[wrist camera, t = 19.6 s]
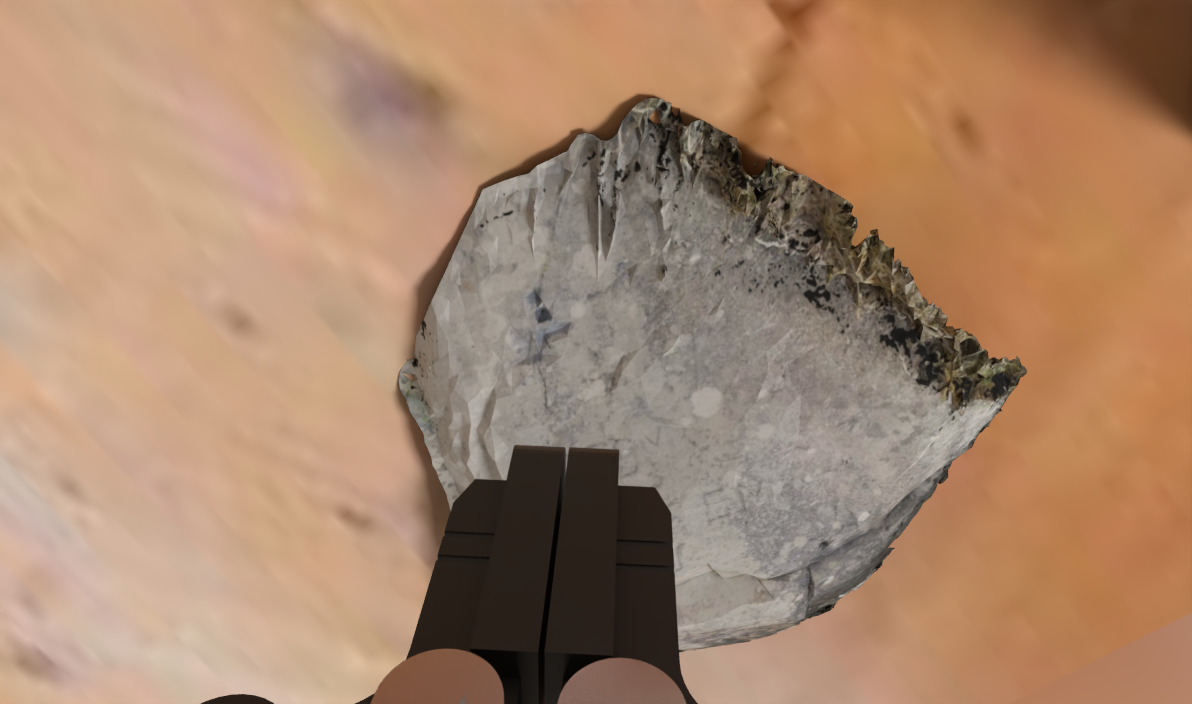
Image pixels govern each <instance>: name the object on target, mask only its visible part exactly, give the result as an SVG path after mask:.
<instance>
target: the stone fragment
mask: <svg viewBox="0 0 1192 704" xmlns="http://www.w3.org/2000/svg"><path fill="white" fill-rule="evenodd" d="M664 102H665V100H663V99H660V98H646V99H644V100H643V101H641V102H639V103H638V104H637V105H636V106H635V107H634V108H633V109H632V110H631V111H630V112H629V113H628V114H627V116H626V117H625V118H624V119H623V121H622V123H621V126H620V129H619V131H618V133H617V134H616V135H615V136H614V137H613V138H612V139H610V140H608V141H604V140H599V139H598V138H597V137H596V136H595V135H592V134H589V133H583V134H579V135H578V136H577V137H576V139H575V140H574V141H573V143H572V144H571V146H570V147H569V149H568V151H566V152H564V153H562V154H560V155H558V156H556V157H554V158H552V159H550V160H548V161H546V162H544V163H542V164H539V165H537V166H536V167H535V168H534V169H533V170H532V171H531V172H530V173H529V174H525V175H520V176H516V177H514V178H511V179H508V180H505V181H502V182H499V183H497V184H494V185H492V186H490V187H487V188H485V189H483V190H482V192H481V195H480V197H479V199H478V201H477V203H476V206H475V208H474V210H473V212H472V214H471V216H470V218H469V221H468V223H467V225H466V227H465V229H464V231H463V234H462V236H461V238H460V240H459V242H458V245H457V247H456V249H455V251H454V253H453V255H452V258H451V260H450V262H449V264H448V267H447V269H446V271H445V273H444V275H443V278H442V280H441V282H440V284H439V286H438V288H437V290H436V293H435V295H434V297H433V299H432V301H431V303H430V305H429V307H428V310H427V312H426V315H425V317H424V319H423V322H422V324H421V326H420V329H419V331H418V333H417V335H416V340H415V351H414V356H415V358H416V359H410V360H407V362H406V364H405V365H404V366H403V367H402V368H401V371H400V373H399V387H400V390H401V392H402V394H403V395H404V397H405V399H406V401H407V404H408V406H409V411H410V413H411V414H412V416H413V417H414V419H415V420H416V422H417V424H418V425H419V427H420V429H421V431H422V432H423V434H424V443H425V444H426V446H427V448H428V451H429V453H430V456H431V459H432V465H433V467H434V469H435V470H436V472H437V475H438V478H439V480H440V482H441V484H442V486H443V488H444V490H445V492H446V494H447V500H448V503H449V506H450V512H451V509H452V505H453V502H454V501H455V500H456V499H457V498H458V497H459V496H460V495H461V494H462V493H463V492H464V491H465V489H466V488H467V487H468V486H469V485H470V484H471V483H472V482H473V481H474V480H475V479H490V480H506V479H507V475H508V470H509V466H510V461H511V457H512V452H513V448H514V446H515V445H530V446H551V447H565V449H566V468H567V460H568V452H569V447H577V448H598V449H619V478H618V485H620V486H641V487H655V488H656V489H657V491H658V493H659V494H660V496H661V497H662V499H663V501H664V502H665V504H666V505H667V507H668V508H669V510H670V512H671V516H672V534H673V552H674V572H675V588H676V606H677V625H678V643H679V652H683V651H686V650H695V649H703V648H709V647H715V646H721V645H730V644H736V643H742V642H749V641H751V640H755V639H759V638H763V637H767V636H770V635H773V634H777V633H778V632H781V631H783V630H786V629H788V628H792V627H794V626H795V625H799V623H800V622H802V621H804V620H805V619H806V618H811V617H814V616H818V615H821V614H823V613H825V612H827V611H830V610H831V609H832V608H834V606H835V604H836V602H837V601H838V600H839V599H840V598H842V597H843V596H845V595H847V594H848V593H849V592H850V591H852V590H855V589H858V588H859V587H860V586H861V585H862V584H863V583H864V582H865V581H866V580H867V579H868V578H869V577H870V576H871V575H872V574H873V573H874V572H875V571H876V570H878V568H880V567H881V566H882V564H883V560H884V559H885V558H886V557H887V556H888V555H889V554H890V553H891V551H892V550H893V549H894V548H888V547H889V546H890V544H891V543H892V542H893V541H894V540H895V539H897V538H898V537H899V536H900V535H901V533H902V532H903V531H904V530H905V528H906V527H907V526H908V524H909V523H910V521H911V520H912V518H913V517H914V516H915V515H916V514H917V512H918V511H919V509H920V508H921V506H922V504H923V503H924V502H925V501H926V500H928V499H929V498H930V497H931V496H932V494H933V493H934V491H935V489H936V486H937V484H938V482H939V484H941V483H943V482H944V481H945V480H946V479H947V478H948V469H949V467H950V466H951V463H952V461H953V460H955V459H956V458H957V457H959V456H960V455H961V454H963V453H964V452H966V451H967V450H969V449H970V448H972V446H973V444H974V442H975V439H976V437H977V436H978V434H979V433H981V432H982V431H983V430H984V429H985V428H986V427H988V426H989V423H990V422H991V420H992V419H993V418H994V416H995V415H996V414H998V413H999V412H1000V411H1002V410H1001V407H1002V406H1003V405H1004V403H1005V401H1006V399H1007V398H1008V396H1009V395H1010V394H1011V392H1012V391H1013V390H1014V389H1015V388H1016V387H1017V386H1016V385H1018V383H1019V380H1020V378H1021V377H1023V376H1024V375H1025V374H1026V372H1027V370H1026V368H1025V367H1024V366H1021V362H1020V359H1019V358H1018V357H1017V356H1016V359H1013V360H1010V361H1009V360H1008V359H1007V358H1006V357H1003V358H1001V359H1000V360H998V359H997V358H995V357H994V358H991V359H989V357H988V351H986V350H985V349H984V350H982V348H981V346H980V344H979V342H978V340H977V339H976V338H975V337H974V336H973V335H972V334H970V333H968V332H966V331H964V332H963V330H961V329H962V328H960V329H954V328H953V326H946V323H947V318H948V317H947V316H946V315H945V314H944V313H942V312H941V311H942V309H941V308H937V307H936V306H935V305H934V303H933V302H932V303H931V304H930V305H929V304H928V302H927V300H926V298H925V297H923V298H922V297H921V295H920V292H919V290H918V288H917V286H916V284H915V282H914V281H913V279H914V278H913V277H912V275H911V274H910V271H909V268H908V267H903V266H902V263H901V262H900V260H899V259H897V260H896V261H895V262H894V263H893V260H894V248H889V247H887V246H885V244H884V242H883V241H881V240H880V239H879V236H878V230H877V229H875V230H871V231H870V233H871V235H869V236H868V237H867V238H865V239H864V240H863V241H862V242H861V243H860V244H859V245H857V246H856V247H855V246H853V245H851V244H852V237H853V235H854V233H855V231H856V229H857V218H856V217H854V216H852V215H851V212H852V208H853V206H852V204H851V203H850V202H848V201H847V200H845V199H844V198H842V197H841V196H839V195H837V194H836V193H834V192H832V191H830V190H828V189H826V188H825V187H823V186H822V185H820V184H818V183H817V182H815V181H813V180H812V179H810V178H809V177H807V176H805V175H801V174H796V173H795V172H793V171H787V170H785V168H784V165H783V166H781V163H780V167H778V164H779V163H778V164H776V165H774V166H772V162H773V161H774V160H773V159H772V158H771V157H770V158H769V160H768V161H767V163H766V165H765V167H764V168H763V170H762V172H761V174H760V175H758V174H755V175H752V176H751V177H750V176H749V175H747V174H746V172H745V170H744V169H743V166H742V163H741V159H742V152H741V151H740V150H739V149H738V147H737V138H734V137H732V136H730V135H728V134H725V133H723V132H721V131H720V130H718V129H716V128H714V127H713V126H711V125H710V124H708V123H707V122H705V121H702V120H697V121H695V122H692V123H691V124H690V125H688V126H683V121H682V119H681V116H680V114H679V113H680V110H679V113H678V115H677V117H676V116H675V115H674V114H673V113H672V103H669V102H665V103H664ZM655 109H657V112H658V115H659V118H660V121H661V123H660V124H654V123H653V122H652V121H651V120H650V119H649V117H650V115H651V114H652V113H653V111H654V110H655ZM756 165H757V162H756V163H755V164H754V166H755V167H756ZM777 167H778V168H777ZM940 312H941V313H940ZM402 373H406V374H414V375H415V378H416V380H415V381H410V380H409V379H408V378H407V377H406V376H404V375H403V374H402ZM887 548H888V549H887Z"/></svg>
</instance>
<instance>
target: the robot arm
mask: <svg viewBox="0 0 1192 704" xmlns="http://www.w3.org/2000/svg"><path fill="white" fill-rule="evenodd" d="M618 478H619V449H598V448H577V447H569V452H568V460H567V468H566V449H565V447H551V446H530V445H515V446H514V448H513V452H512V457H511V461H510V466H509V470H508V475H507V479H506V480H490V479H475V480H474V481H473V482H472V483H471V484H470V485H469V486H468V487H467V488H466V489H465V491H464V492H463V493H462V494H461V495H460V496H459V497H458V498H457V499H456V500H455V501H454V502H453V505H452V509H451V512H450V516H449V519H448V522H447V526H446V529H445V536H444V537H443V539H442V543H441V546H440V549H439V553H438V560H437V561H436V563H435V566H434V570H433V573H432V576H431V580H430V583H429V587H428V590H427V593H426V597H425V600H424V604H423V607H422V610H421V614H420V617H419V620H418V624H417V627H416V631H415V634H414V637H413V641H412V644H411V648H410V650H409V653H408V656H407V658H406V660H405V661H403V662H402V663H400V664H399V665H398V666H396V667H395V668H394V669H393V670H392V671H391V672H390V673H389V674H388V675H387V676H386V677H385V678H384V679H383V681H382V682H381V683H380V685H379V687H378V689H377V690H376V692H375V693H374V694H373V695H371V696H369V697H367V698H366V699H364V700H362V701H360V702H358V703H355V704H697V702H696V701H695V700H694V698H693V697H692V696H691V694H690V693H689V691H688V689H687V687H686V685H685V683H684V680H683V677H682V674H681V669H680V661H679V643H678V625H677V606H676V588H675V572H674V552H673V534H672V516H671V512H670V510H669V508H668V507H667V505H666V504H665V502H664V501H663V499H662V497H661V496H660V494H659V493H658V491H657V489H656V488H655V487H641V486H620V485H618ZM201 704H274V703H272V702H270V701H268V700H266V699H265V698H261V697H258V696H254V695H246V694H238V695H228V696H222V697H218V698H215V699H211V700H208V701H206V702H203V703H201Z"/></svg>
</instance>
